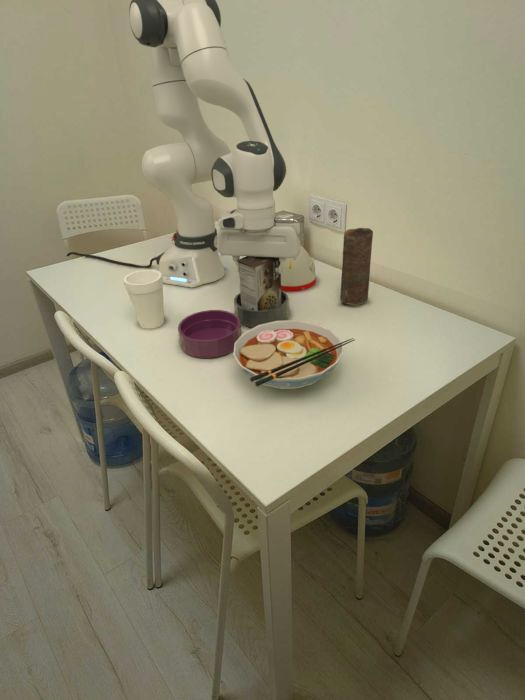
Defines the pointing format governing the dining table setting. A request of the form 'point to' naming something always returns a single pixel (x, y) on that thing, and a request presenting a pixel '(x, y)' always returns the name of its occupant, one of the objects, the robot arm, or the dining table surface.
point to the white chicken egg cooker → (298, 272)
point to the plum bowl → (209, 333)
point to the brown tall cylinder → (356, 265)
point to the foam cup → (146, 296)
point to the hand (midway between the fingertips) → (260, 272)
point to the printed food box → (259, 283)
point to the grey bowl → (261, 312)
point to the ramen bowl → (288, 353)
